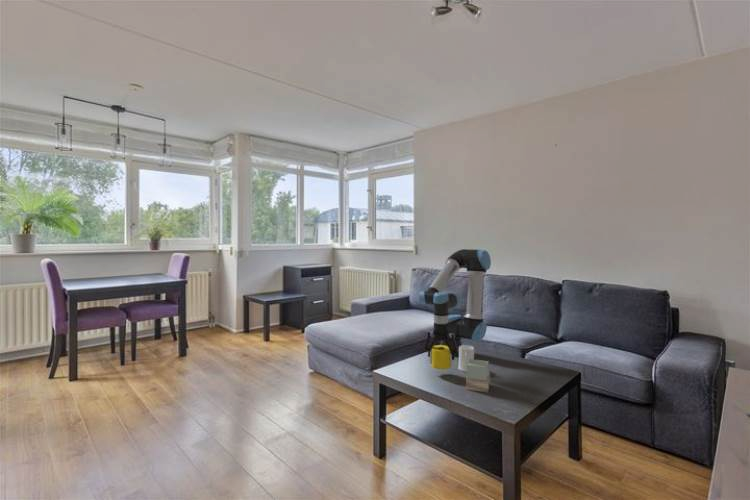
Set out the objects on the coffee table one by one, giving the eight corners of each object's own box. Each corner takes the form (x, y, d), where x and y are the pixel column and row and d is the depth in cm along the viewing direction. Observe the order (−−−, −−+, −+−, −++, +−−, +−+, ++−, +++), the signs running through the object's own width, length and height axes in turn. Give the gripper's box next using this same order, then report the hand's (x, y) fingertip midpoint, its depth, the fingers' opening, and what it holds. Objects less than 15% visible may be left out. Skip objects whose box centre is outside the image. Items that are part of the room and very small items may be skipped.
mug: (472, 374, 195) (472, 352, 194) (456, 372, 198) (456, 350, 197) (475, 367, 205) (475, 346, 205) (459, 365, 209) (459, 344, 208)
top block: (469, 370, 185) (469, 358, 185) (488, 373, 181) (488, 361, 181) (466, 377, 177) (466, 364, 176) (486, 380, 173) (486, 367, 173)
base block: (468, 381, 186) (469, 370, 186) (489, 384, 182) (489, 372, 182) (465, 389, 177) (465, 377, 177) (487, 393, 173) (487, 380, 173)
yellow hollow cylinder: (446, 370, 187) (446, 352, 187) (428, 367, 193) (428, 349, 192) (453, 364, 196) (453, 346, 195) (436, 361, 201) (435, 344, 200)
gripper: (418, 322, 193) (418, 364, 195) (461, 326, 185) (461, 369, 186) (421, 318, 200) (422, 359, 202) (464, 322, 192) (464, 364, 193)
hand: (441, 364), depth 194 cm, fingers closed on yellow hollow cylinder, 10 cm apart
